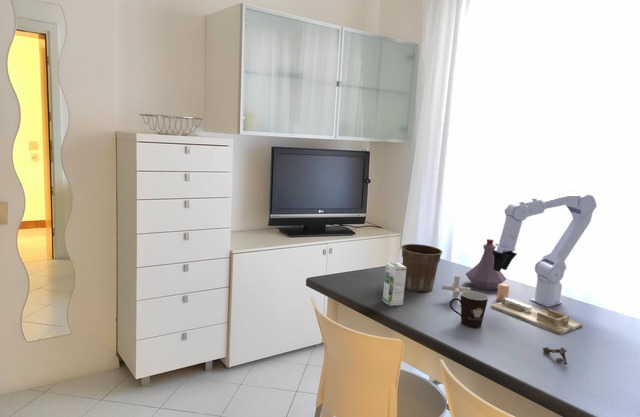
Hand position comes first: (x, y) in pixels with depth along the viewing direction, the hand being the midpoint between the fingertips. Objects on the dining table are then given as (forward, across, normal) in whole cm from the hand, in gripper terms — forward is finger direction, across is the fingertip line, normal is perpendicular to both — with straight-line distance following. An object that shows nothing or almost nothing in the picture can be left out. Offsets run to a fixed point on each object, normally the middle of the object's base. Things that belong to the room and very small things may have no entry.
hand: (500, 269), depth 177 cm
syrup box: (+19, +30, -25) cm, 43 cm away
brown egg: (+12, -5, +2) cm, 13 cm away
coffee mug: (+16, +28, +2) cm, 32 cm away
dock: (+11, +3, +16) cm, 20 cm away
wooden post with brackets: (+14, +33, +30) cm, 47 cm away
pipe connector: (+15, +11, -10) cm, 21 cm away
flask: (+12, -17, -9) cm, 22 cm away
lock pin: (+11, +2, +10) cm, 15 cm away
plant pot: (+17, +7, -27) cm, 32 cm away
